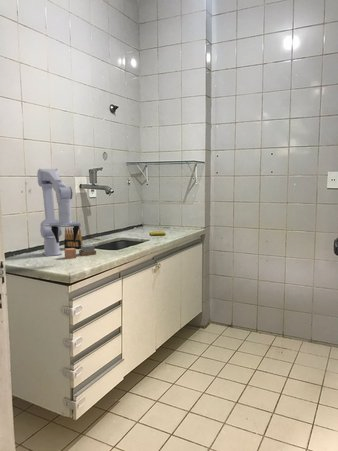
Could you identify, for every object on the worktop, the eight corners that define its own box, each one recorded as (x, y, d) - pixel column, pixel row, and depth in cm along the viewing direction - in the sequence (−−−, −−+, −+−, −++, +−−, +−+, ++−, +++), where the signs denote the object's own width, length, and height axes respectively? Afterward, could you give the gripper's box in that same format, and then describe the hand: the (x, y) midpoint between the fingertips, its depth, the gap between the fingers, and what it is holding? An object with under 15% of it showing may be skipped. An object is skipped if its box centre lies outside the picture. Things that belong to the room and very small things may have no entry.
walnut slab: (79, 254, 198) (78, 250, 197) (92, 253, 201) (91, 248, 201) (83, 257, 192) (82, 252, 191) (96, 255, 195) (96, 250, 195)
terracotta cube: (64, 257, 189) (64, 248, 188) (73, 256, 191) (73, 247, 190) (67, 259, 185) (66, 250, 184) (76, 258, 187) (75, 249, 187)
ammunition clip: (64, 248, 213) (63, 227, 212) (66, 247, 215) (65, 226, 213) (81, 249, 210) (80, 227, 209) (82, 248, 212) (82, 227, 210)
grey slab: (81, 250, 197) (80, 245, 197) (91, 248, 200) (91, 244, 199) (84, 251, 192) (83, 247, 192) (94, 250, 195) (94, 245, 195)
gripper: (46, 214, 169) (48, 244, 171) (79, 214, 170) (80, 243, 172) (50, 212, 176) (51, 241, 178) (81, 212, 177) (82, 240, 179)
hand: (66, 242), depth 176 cm, fingers open, 7 cm apart
